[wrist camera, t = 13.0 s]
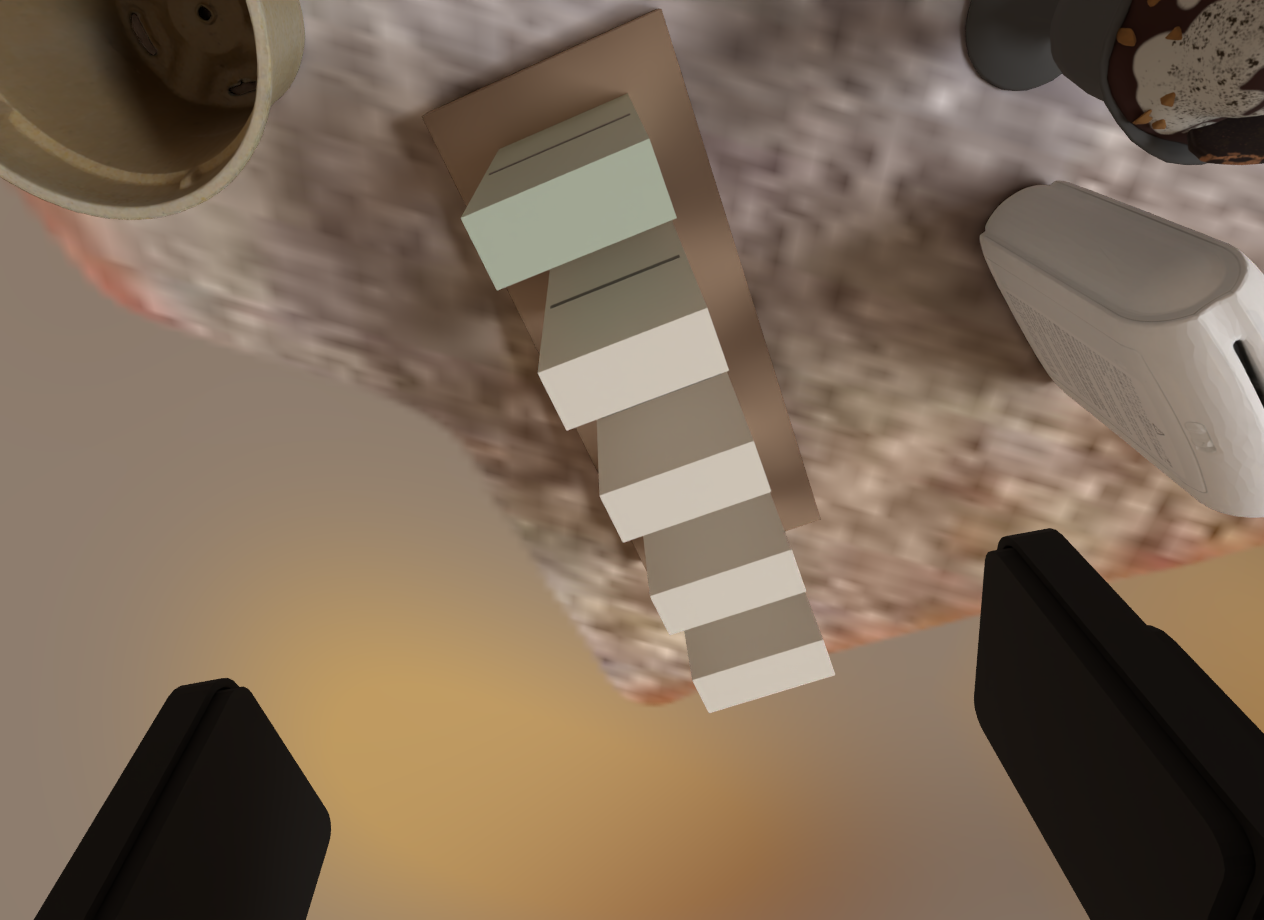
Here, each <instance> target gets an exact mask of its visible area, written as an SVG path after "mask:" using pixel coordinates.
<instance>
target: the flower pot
mask: <svg viewBox="0 0 1264 920" xmlns="http://www.w3.org/2000/svg"><path fill="white" fill-rule="evenodd" d="M201 6H204V7H205V8H207V9H208V10H209V11H210V13H211V18H210V19H209V20H208V21H207V20H203V19H202V18H201V17H200V16H199V13H198V11H199V8H200V7H201ZM133 13H135V14H136V15H137V16H138V19H139V21H140V22H141V24H142V26H143V28H144V30H145V32H146V34H147V36H148V38H149V40H150V42H151V43H152V45H153V46H154V48H155V49H156V51H157V52H156V54H155V55H150V53H149V52H148V51H147V50H146V49H145V48H144V47H143V46H142V45H141V44H140V42H139V40H138V38H137V36H136V34H135V33H134V31H133V29H132V25H131V14H133ZM304 42H305V31H304V22H303V15H302V10H301V6H300V2H299V0H0V177H1V178H2V179H4V180H6V181H8V182H9V183H11V184H13V185H15V186H17V187H19V188H20V189H22V190H24V191H26V192H28V193H30V194H32V195H34V196H37V197H39V198H40V199H43V200H45V201H48V202H50V203H53V204H55V205H58V206H61V207H63V208H66V209H69V210H72V211H75V212H78V213H84V214H88V215H92V216H96V217H103V218H108V219H110V218H112V219H120V220H123V219H125V220H141V219H152V218H161V217H165V216H168V215H173V214H176V213H180V212H182V211H185V210H187V209H189V208H192V207H195V206H197V205H199V204H201V203H202V202H204V201H206V200H208V199H210V198H212V197H213V196H214V195H216V194H218V193H219V192H220V191H221V190H223V189H225V188H226V187H227V186H228V185H229V184H230V183H231V182H232V181H233V180H234V179H235V178H236V177H237V176H238V174H239V173H240V172H241V171H242V170H243V168H244V167H245V165H246V164H247V163H248V161H249V160H250V158H251V157H252V155H253V153H254V151H255V149H256V147H257V146H258V144H259V141H260V139H261V137H262V134H263V131H264V128H265V125H266V122H267V119H268V115H269V109H270V107H271V106H272V104H273V103H274V102H275V101H277V100H278V99H279V98H280V97H282V96H283V95H284V94H285V92H286V91H287V90H288V89H289V88H290V86H291V84H292V82H293V81H294V79H295V76H296V74H297V72H298V70H299V67H300V63H301V59H302V55H303V50H304ZM241 80H243V83H244V82H247V83H248V82H253V81H255V82H257V87H256V90H254V91H251V92H248V93H245V94H242V95H235V94H232V93H230V92H229V90H228V89H229V88H230V87H235V86H238V85H240V84H241V82H240V81H241Z"/></svg>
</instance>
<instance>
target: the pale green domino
mask: <svg viewBox="0 0 1264 920" xmlns="http://www.w3.org/2000/svg"><path fill="white" fill-rule="evenodd" d="M676 218H677V217H676V214H675V211H674V208H673V205H672V202H671V200H670V197H669V194H668V191H667V188H666V185H665V182H664V179H663V176H662V173H661V171H660V168H659V165H658V162H657V159H656V156H655V153H654V150H653V147H652V145H651V142H650V139H649V137H648V135H647V132H646V130H645V128H644V126H643V124H642V122H641V120H640V118H639V116H638V114H637V112H636V110H635V108H634V105H633V103H632V101H631V99H630V97H629V95H628V93H627V94H625V95H623V96H621V97H618V98H616V99H614V100H611V101H609V102H607V103H604V104H602V105H600V106H597V107H595V108H593V109H591V110H588V111H586V112H584V113H581V114H579V115H577V116H574V117H572V118H570V119H567V120H565V121H563V122H561V123H558V124H556V125H554V126H551V127H549V128H547V129H544V130H542V131H540V132H537V133H535V134H533V135H531V136H528V137H526V138H524V139H521V140H519V141H517V142H514V143H512V144H510V145H507V146H505V147H503V148H501V149H499V150H498V152H497V153H496V155H495V157H494V159H493V161H492V162H491V164H490V166H489V168H488V170H487V171H486V173H485V175H484V177H483V179H482V180H481V182H480V184H479V186H478V188H477V189H476V191H475V193H474V195H473V197H472V198H471V200H470V202H469V204H468V206H467V207H466V209H465V211H464V213H463V215H462V216H461V220H462V222H463V224H464V226H465V228H466V230H467V232H468V234H469V236H470V238H471V240H472V242H473V244H474V246H475V248H476V250H477V252H478V254H479V256H480V258H481V260H482V262H483V264H484V266H485V268H486V270H487V272H488V274H489V276H490V278H491V280H492V282H493V284H494V286H495V288H496V290H500V289H502V288H505V287H507V286H510V285H512V284H515V283H517V282H520V281H522V280H525V279H527V278H530V277H532V276H535V275H537V274H540V273H542V272H545V271H547V270H549V269H552V268H554V267H557V266H559V265H562V264H564V263H567V262H569V261H572V260H574V259H577V258H579V257H582V256H584V255H587V254H589V253H592V252H594V251H597V250H599V249H602V248H604V247H606V246H609V245H611V244H614V243H616V242H619V241H621V240H624V239H626V238H629V237H631V236H634V235H636V234H639V233H641V232H644V231H646V230H649V229H651V228H654V227H656V226H659V225H661V224H663V223H666V222H668V221H671V220H673V219H676Z"/></svg>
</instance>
